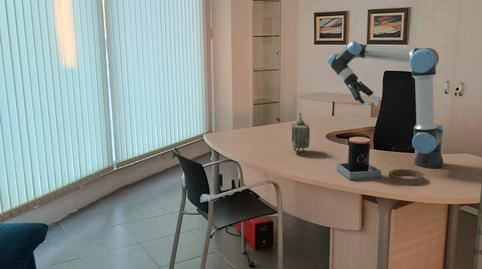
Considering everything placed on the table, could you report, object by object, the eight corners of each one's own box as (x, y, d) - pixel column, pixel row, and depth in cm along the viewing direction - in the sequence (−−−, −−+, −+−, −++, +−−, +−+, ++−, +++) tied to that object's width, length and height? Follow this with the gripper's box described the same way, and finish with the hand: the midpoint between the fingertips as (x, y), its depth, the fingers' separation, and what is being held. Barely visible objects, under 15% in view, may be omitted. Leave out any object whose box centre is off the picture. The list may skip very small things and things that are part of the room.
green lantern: (291, 149, 302) (292, 110, 296) (305, 149, 302) (306, 110, 296) (294, 155, 287) (295, 114, 282) (309, 155, 288) (310, 114, 282)
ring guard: (411, 173, 253) (412, 167, 252) (429, 183, 237) (430, 177, 236) (383, 175, 249) (383, 170, 249) (399, 185, 234) (399, 180, 233)
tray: (365, 168, 261) (366, 161, 261) (380, 178, 245) (381, 170, 244) (336, 170, 258) (336, 163, 257) (349, 180, 242) (349, 173, 241)
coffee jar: (357, 176, 245) (358, 142, 240) (343, 171, 254) (344, 138, 249) (372, 173, 250) (374, 140, 245) (358, 168, 259) (360, 135, 254)
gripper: (353, 79, 280) (377, 107, 274) (333, 84, 261) (358, 113, 255) (362, 70, 275) (386, 98, 270) (343, 74, 256) (368, 104, 251)
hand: (373, 106), depth 262 cm, fingers open, 13 cm apart
